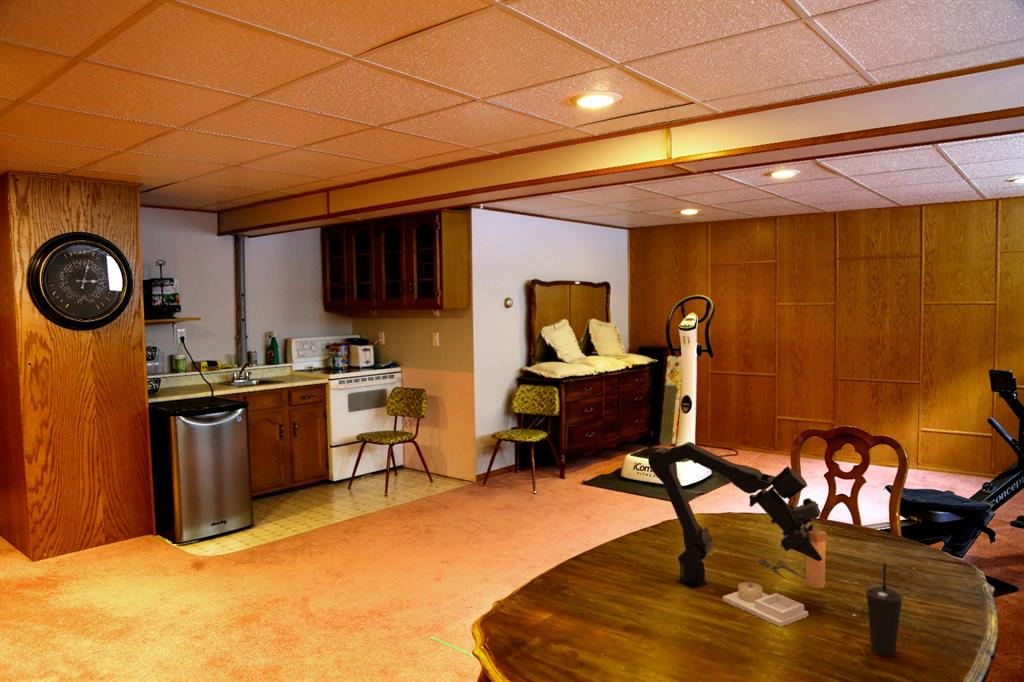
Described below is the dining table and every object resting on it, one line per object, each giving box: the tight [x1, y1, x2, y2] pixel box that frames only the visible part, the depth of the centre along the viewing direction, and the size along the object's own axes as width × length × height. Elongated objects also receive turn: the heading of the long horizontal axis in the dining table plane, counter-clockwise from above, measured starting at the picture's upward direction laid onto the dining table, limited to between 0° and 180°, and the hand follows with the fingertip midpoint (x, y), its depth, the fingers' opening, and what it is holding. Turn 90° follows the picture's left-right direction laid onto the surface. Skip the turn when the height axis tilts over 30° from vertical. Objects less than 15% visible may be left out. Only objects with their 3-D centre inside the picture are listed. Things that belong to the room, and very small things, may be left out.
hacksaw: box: [758, 558, 835, 587], centre depth 204 cm, size 24×10×2 cm, turn 14°
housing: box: [722, 581, 809, 628], centre depth 181 cm, size 18×11×5 cm, turn 32°
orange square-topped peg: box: [805, 528, 828, 589], centre depth 181 cm, size 4×4×14 cm
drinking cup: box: [865, 564, 904, 657], centre depth 159 cm, size 8×8×20 cm
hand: (821, 557), depth 181 cm, fingers closed on orange square-topped peg, 4 cm apart
